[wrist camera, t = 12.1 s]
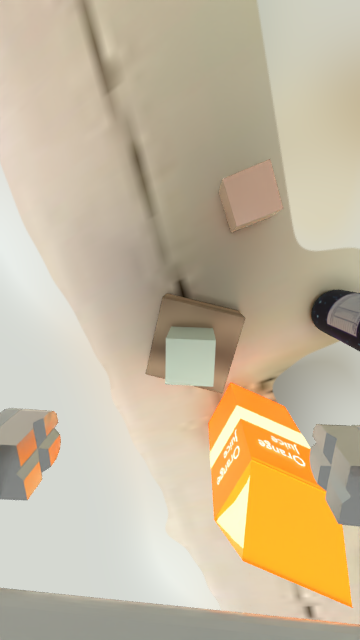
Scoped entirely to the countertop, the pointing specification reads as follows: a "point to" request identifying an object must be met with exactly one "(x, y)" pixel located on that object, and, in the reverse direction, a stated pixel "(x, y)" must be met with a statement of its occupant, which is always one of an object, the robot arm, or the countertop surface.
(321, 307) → the beverage can
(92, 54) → the countertop surface
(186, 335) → the sage cube
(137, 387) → the countertop surface
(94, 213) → the countertop surface
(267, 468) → the orange juice
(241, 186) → the terracotta cube
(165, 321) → the walnut block
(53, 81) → the countertop surface
